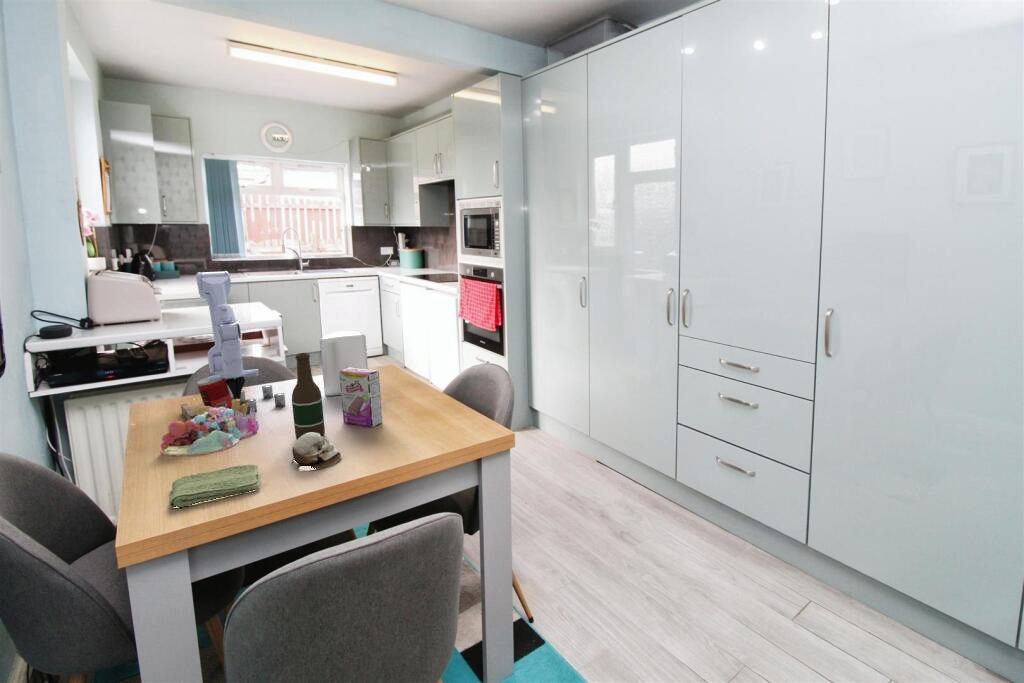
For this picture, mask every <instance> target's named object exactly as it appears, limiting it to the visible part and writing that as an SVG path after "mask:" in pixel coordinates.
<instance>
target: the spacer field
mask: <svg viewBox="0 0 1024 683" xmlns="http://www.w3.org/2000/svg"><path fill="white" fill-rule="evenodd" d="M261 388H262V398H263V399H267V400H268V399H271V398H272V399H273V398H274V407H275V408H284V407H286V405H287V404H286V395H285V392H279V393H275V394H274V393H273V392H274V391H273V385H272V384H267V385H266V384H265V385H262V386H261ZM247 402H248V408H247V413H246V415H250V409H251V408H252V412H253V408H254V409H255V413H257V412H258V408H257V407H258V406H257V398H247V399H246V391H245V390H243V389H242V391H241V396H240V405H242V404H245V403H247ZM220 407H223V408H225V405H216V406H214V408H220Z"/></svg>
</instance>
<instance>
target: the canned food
mask: <svg viewBox="0 0 1024 683" xmlns="http://www.w3.org/2000/svg"><path fill="white" fill-rule="evenodd" d="M210 376H211V375H210ZM210 376H206V377H204V378H202V379H200V380H198V381H197V382H196V385H197V390H198V391H199V394H200V396H201V400H202V403H203V406H210V407H213V408H214V406H216V405H225V408H226V409H227V408H229V409H231V408H232V400H233V398H231V396H230V393H229V390H228V387H227V384H226V381H225V379H223V377H220V378H219V379H215V380H211V381H210V380H209V377H210ZM212 376H215V374H214V375H212ZM222 376H223V375H222Z"/></svg>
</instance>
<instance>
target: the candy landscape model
mask: <svg viewBox="0 0 1024 683" xmlns="http://www.w3.org/2000/svg"><path fill="white" fill-rule="evenodd" d="M247 408H248V402H247V403H243V404H240V399H234V398H233V399H232V408H231V409H229V408H227V409H226V408H223V407H220V408H213V407H210V406H204V405H201V406H198V408H197V410H196V411H197V412H196V416H195V418H194V419H190V420H189V421H188V420H186V421H185V422H183V421H181V420H174V421H172V422H171V423H170V424H169V426H168V428H167V431H168V432H167V433H165V434H163V436H162V438H161V440H162V441H163V442H162V443H160V453H161V454H162V453H163V455H164V456H168V457H172V456H171V455H176V456H175V457H181V456H180V455H184V456H194V455H193V454H196V455H205V454H209V453H210V452H211V453H215V452H221V451H223V450H227V449H230V448H232V447H235V446H237V445H238V444H239V443H240V440H242V439H245V438H248V437H250V436H253V435H254V434H256V433H257V432H258V429H259V420H256V412H255V409H254V408H253V412H252V408H251V409H250V414H247ZM234 445H235V446H234ZM204 453H205V454H204Z"/></svg>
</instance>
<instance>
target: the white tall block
mask: <svg viewBox="0 0 1024 683" xmlns="http://www.w3.org/2000/svg"><path fill="white" fill-rule="evenodd" d="M366 339H367V337H366V335H365V334H364V333H362V332H359V331H356V330H338V331H334V332H331V333H329V334H327V335H323V336H322V337H321V338H320V339H319V347H320V357H321V367H322V368H321V369H322V378H323V379H322V380H323V389H324V396H327V397H329V396H331V397H333V396H341V385H340V374H339V371H340V370H343V369H346V368H349V367H353V368H361V369H369V364H368V353H367V352H368V351H367V350H368V349H367V340H366Z"/></svg>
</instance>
